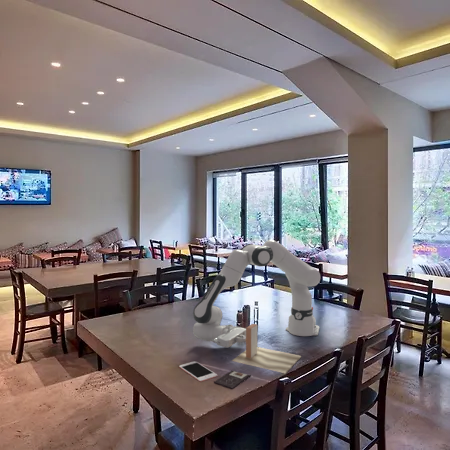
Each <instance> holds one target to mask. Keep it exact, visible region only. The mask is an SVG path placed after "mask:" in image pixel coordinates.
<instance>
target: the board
mask: <svg viewBox="0 0 450 450" xmlns="http://www.w3.org/2000/svg"><path fill="white" fill-rule="evenodd" d="M301 358H302V355H299V354H294V353H289V352H285V351H280V350H274V349H269V348H266V347H260V346H259V347H258V346H257V354H255V355H254V356H253V357H251V358H249V357H246V349H245V350H244V351H243V352H242V353H240V354H239V355H237V356H235V358H233V359H232V360H231V362H235V363H239V364H244V365H247V366H250V367H251V366H252V367H255V368H256V367H257V368H260V369H265V370H270V371H272V372H273V371H274V372H276V373H277V372H278V373H282V375H284V376H285V375H287V373H288V372H290V370H291V369H292V367H294V366H295V365H296V364H297V362H298V361H299V360H300V359H301Z"/></svg>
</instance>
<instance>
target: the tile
mask: <svg viewBox="0 0 450 450" xmlns="http://www.w3.org/2000/svg"><path fill="white" fill-rule="evenodd" d="M258 327H259V326H258V324H255V323H251V324H250V325H248V326H247V327H245V329H246V336H245V337H246V342H245V350H246V357H249V358H251V357H253V356H254V355H255V354H257V347H258Z"/></svg>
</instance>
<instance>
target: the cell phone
mask: <svg viewBox="0 0 450 450" xmlns="http://www.w3.org/2000/svg"><path fill="white" fill-rule="evenodd" d="M178 368H180V369H181V370H183V371H184V372H185V373H187V375H189V376H191V377H192V378H194V379H195V380H197V381H198V382H200V383H201V382H204V381H208V380H211V379H214V378H217V377H218V374H217V373H216V372H214V371H212V370H211V369H209V368H207V367H206V366H204V365H203V364H201V363H199V362H198V361H194V360H193V361H191V362H186V363H184V364H180V365H179V367H178Z"/></svg>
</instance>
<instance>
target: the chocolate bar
mask: <svg viewBox="0 0 450 450" xmlns="http://www.w3.org/2000/svg"><path fill="white" fill-rule="evenodd" d="M248 377H249V378H250V377H252V376H251V374H248V373H247V374H246V373H243V372H239V371H234V370H231V371H229V372H227V373H226V374H224V375H222V376H220V377H219V378H218V379H215V380H214V381H213V383H214V384H216V385H219V386H221V387H224V388H228V389H231V390H234V389H235V388H236V387H238V386H239V385H240V383H241V384H242V383H243V382H244V380H245V381H247V380H248V379H249V378H248ZM247 378H248V379H247Z"/></svg>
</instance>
